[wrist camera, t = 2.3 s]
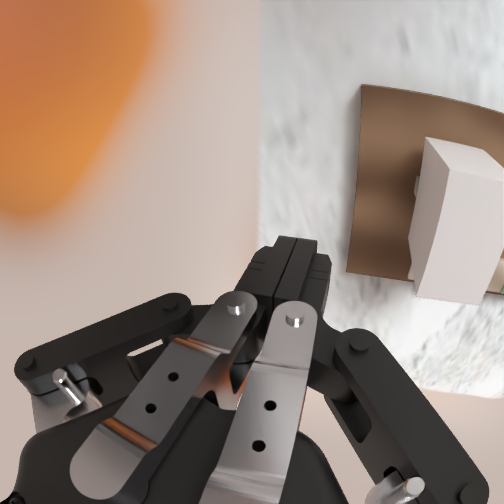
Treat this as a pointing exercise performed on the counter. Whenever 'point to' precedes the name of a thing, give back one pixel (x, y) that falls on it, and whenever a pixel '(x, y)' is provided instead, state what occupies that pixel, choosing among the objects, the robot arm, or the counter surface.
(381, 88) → the base
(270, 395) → the robot arm
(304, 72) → the counter surface
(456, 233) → the block
